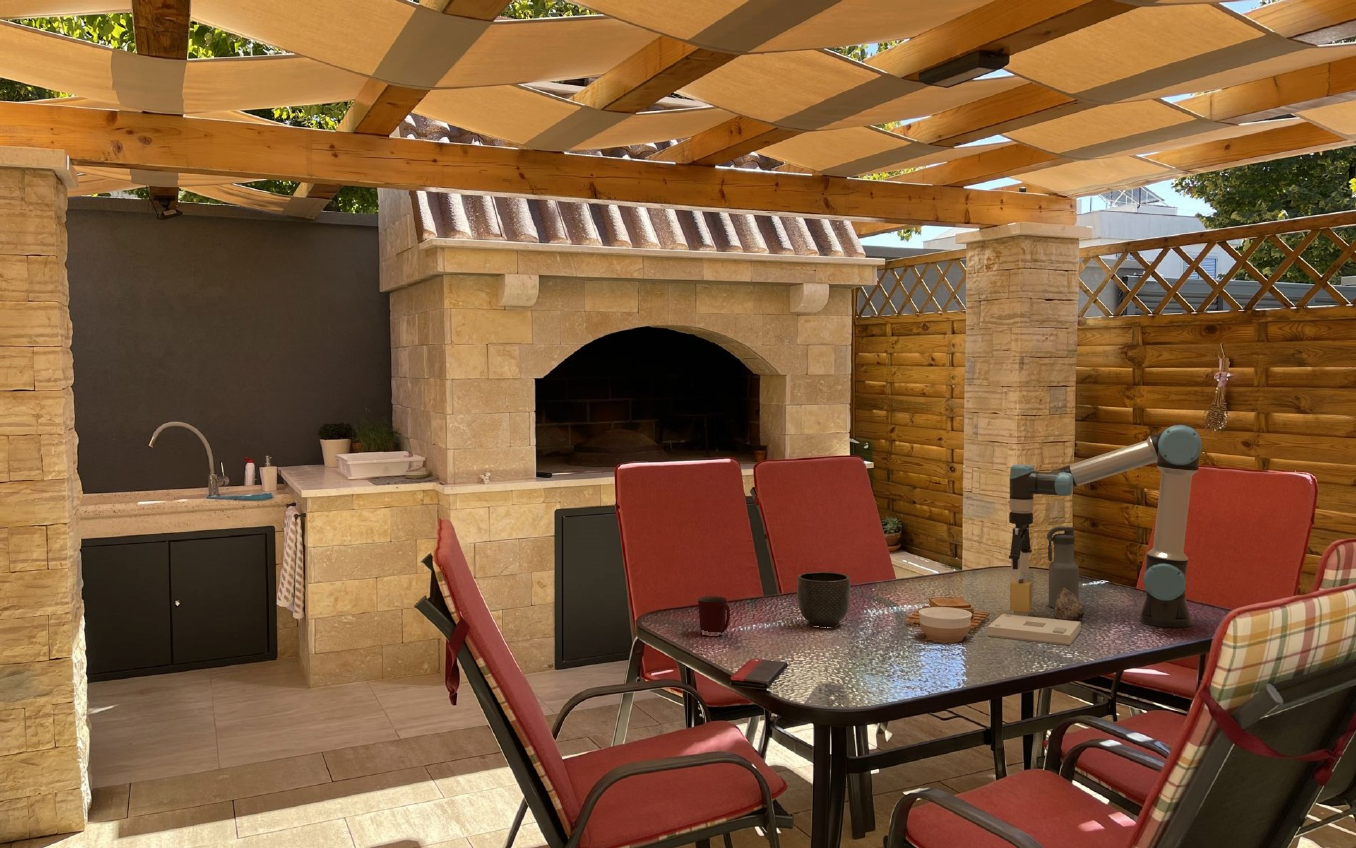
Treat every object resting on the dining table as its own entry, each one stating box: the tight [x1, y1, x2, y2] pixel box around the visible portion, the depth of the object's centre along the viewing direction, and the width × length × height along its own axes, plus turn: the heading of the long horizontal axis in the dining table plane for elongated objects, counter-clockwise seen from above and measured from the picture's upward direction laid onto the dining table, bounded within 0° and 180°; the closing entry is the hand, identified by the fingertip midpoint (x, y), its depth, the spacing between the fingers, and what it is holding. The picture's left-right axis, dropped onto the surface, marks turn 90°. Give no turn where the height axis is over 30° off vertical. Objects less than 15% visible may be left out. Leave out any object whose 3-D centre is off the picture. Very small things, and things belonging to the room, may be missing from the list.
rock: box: [1053, 588, 1085, 622], centre depth 338 cm, size 9×12×10 cm
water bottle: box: [1046, 525, 1080, 609], centre depth 355 cm, size 10×10×28 cm
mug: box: [697, 595, 731, 633], centre depth 320 cm, size 12×9×11 cm
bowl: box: [918, 606, 973, 643], centre depth 314 cm, size 16×16×8 cm
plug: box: [1009, 578, 1033, 617], centre depth 338 cm, size 6×5×13 cm
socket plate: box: [987, 613, 1082, 646], centre depth 318 cm, size 24×20×4 cm
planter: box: [796, 571, 851, 629], centre depth 332 cm, size 17×17×16 cm
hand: (1020, 575), depth 338 cm, fingers open, 13 cm apart
